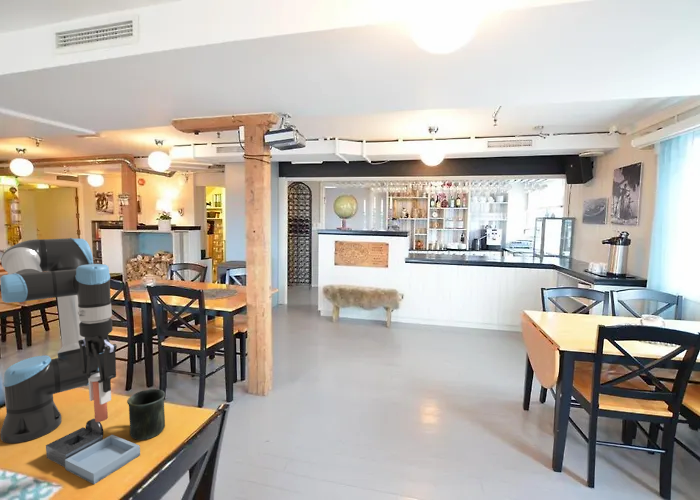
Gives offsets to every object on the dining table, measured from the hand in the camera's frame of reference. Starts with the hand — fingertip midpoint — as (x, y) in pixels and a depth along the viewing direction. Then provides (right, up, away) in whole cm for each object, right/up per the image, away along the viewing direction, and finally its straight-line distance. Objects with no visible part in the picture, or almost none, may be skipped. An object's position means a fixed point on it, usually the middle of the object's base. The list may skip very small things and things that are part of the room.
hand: (100, 400), depth 102 cm
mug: (+3, -18, +18) cm, 25 cm away
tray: (0, -19, +2) cm, 19 cm away
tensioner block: (-12, -18, +6) cm, 22 cm away
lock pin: (0, -6, 0) cm, 6 cm away
